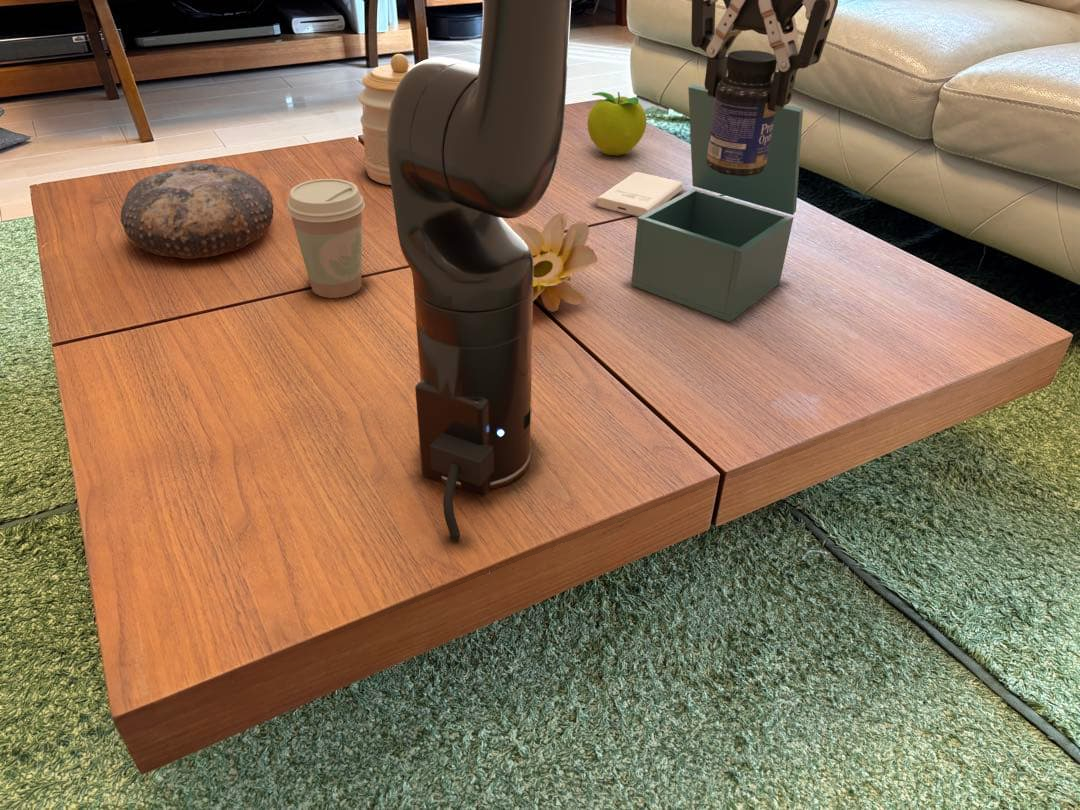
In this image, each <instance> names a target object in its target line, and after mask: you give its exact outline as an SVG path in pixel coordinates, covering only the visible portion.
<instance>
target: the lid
mask: <svg viewBox="0 0 1080 810" xmlns="http://www.w3.org/2000/svg"><path fill="white" fill-rule="evenodd" d="M687 89H688V90H687V91H688V111H689V134H690V135H689V136H690V158H691V160H690V161H691V176H692V177H691V182H692V187H693V188H697V189H700V190H704V191H707V192H711V193H714V194H718V195H721V196H724V197H728V198H731V199H735V200H736V199H737V200H738V201H739V200H740V201H742V202H745V203H749V204H752V205H755V206H759V207H762V208H767V209H769V210H770V209H771V210H773V211H774V210H775V211H776V212H782V213H783V214H784V213H785V214H786V215H787V214H788V215H791V216H794V215H795V213H796V212H797V204H798V203H797V201H798V188H799V174H800V159H801V144H802V130H803V118H804V117H803V116H804V115H803V114H804V108H803V107H799V106H794V105H791V104H787V105H785V106H784V108H783V109H781V110H779V111H777V112H775V117H774V124H773V129H772V135H771V140H770V146H769V152H768V157H767V163H766V167H765V169H764V170H763V172H761V173H760V174H757V175H754V176H748V177H741V176H731V175H725V174H721V173H718V172H716V171H714V170H713V169H711V168H710V167H709V166H708V164H707V152H708V145H709V144H708V143H709V138H710V129H711V122H712V115H713V107H714V101H715V98H714V97H710V96H708V90H706V89H705V86H704V85H698V84H693V83H691V84H690V85H689V86H688V88H687Z"/></svg>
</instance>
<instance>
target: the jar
mask: <svg viewBox="0 0 1080 810" xmlns="http://www.w3.org/2000/svg"><path fill="white" fill-rule="evenodd" d="M415 65H416V64H411V63H410V62H409V59H408V58H407V56H406V55H405V54H403V53H396V54H394V55H392V57H391V59H390V64H384V65H380V66H379V65H378V66H377V67H374V68H373V69H371V71H370V72H368V73H367V74H366V75H365V76H364V75H363V77H362V79H361V83H362V85H364V86H365V87H364V89H363V90H361V91H360V92H359V93H358V95H357V100H358V102H359V103H360V104H361V105H362V114H361V116H360V118H359V119H360V123H361V129H362V138H363V139H362V140H363V147H364V149H363V150H364V167H365V169H366V172H367V176H368V178H370V179H371V180H373V181H375V182H377V183H380V184H382V185H388V186H391V180H390V173H389V164H388V154H387V123H388V116H389V110H390V105H391V102H392V99H393V96H394V93H395V91H396V88H397V86H398V84H399V83H400V81H401V80H402V78H403V77H404V75H405V74H406V73H407V72H408V71H409V70H410V69H411V68H412V67H413V66H415Z"/></svg>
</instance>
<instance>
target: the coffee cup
mask: <svg viewBox="0 0 1080 810" xmlns="http://www.w3.org/2000/svg"><path fill="white" fill-rule="evenodd" d="M288 195H289V196H288V200H287V203H286V206H287V208H286V212H287V213H288V215H289V216H291V221H292V224H293V228H294V231H295V236H296V238H297V242H298V245H299V249H300V252H301V256H302V260H303V262H304V263H303V264H304V266H305V270H306V274H307V276H308V279H309V280H308V281H309V283H310V287H311V291H312V292H313V293H314V294H315V295H317V296H320V297H322V298H329V299H338V298H344V297H347V296H348V297H350V296H351V295H353V294H356V293H357V292H358V291H360V289H361V287H362V277H363V275H362V271H363V270H362V269H363V263H362V262H363V210H364V209H365V205H366V204H365V201H364V198H363V196H362V195H361V193H360V190H359V188H358V186H357V184H355V183H353V182H351V181H349V180H346V179H339V178H319V179H312V180H307V181H303V182H301V183H298V184H296V185H295V186H293V187H292V188H291V189H290V191H289V194H288Z"/></svg>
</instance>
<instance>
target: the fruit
mask: <svg viewBox="0 0 1080 810" xmlns="http://www.w3.org/2000/svg"><path fill="white" fill-rule="evenodd" d="M591 95H592V96H600V97H603V98H604V99H600V100H598V101H597V102H595V103H594V104H593V105H592V107H591V108H590V110H589V113H588V115H587V131H588V135H589V137H590V140H591V141H592V143H594V145H595V146H596V147H597V148H598V149H599V150H600V151H601V152H602V153H604V154H605V155H607V156H617V157H618V156H621V155H625V154H627V153H629V152H631V151H632V150H633V149H635V147H636V146H637V145H638V143H640V141H641V139H642V138H643V136H644V135H645V132H646V130H647V129H646V128H647V116H646V112H645V109H644V108H643V106H642V104H641V103H640V101H639V98H638V97H636V96H633V97H627V96H621V95H620V92H619V91H617V96H616V97H614V95H612V94H611V93H608V92H604V91H603V92H602V91H598V92H594V93H592V94H591Z"/></svg>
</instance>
